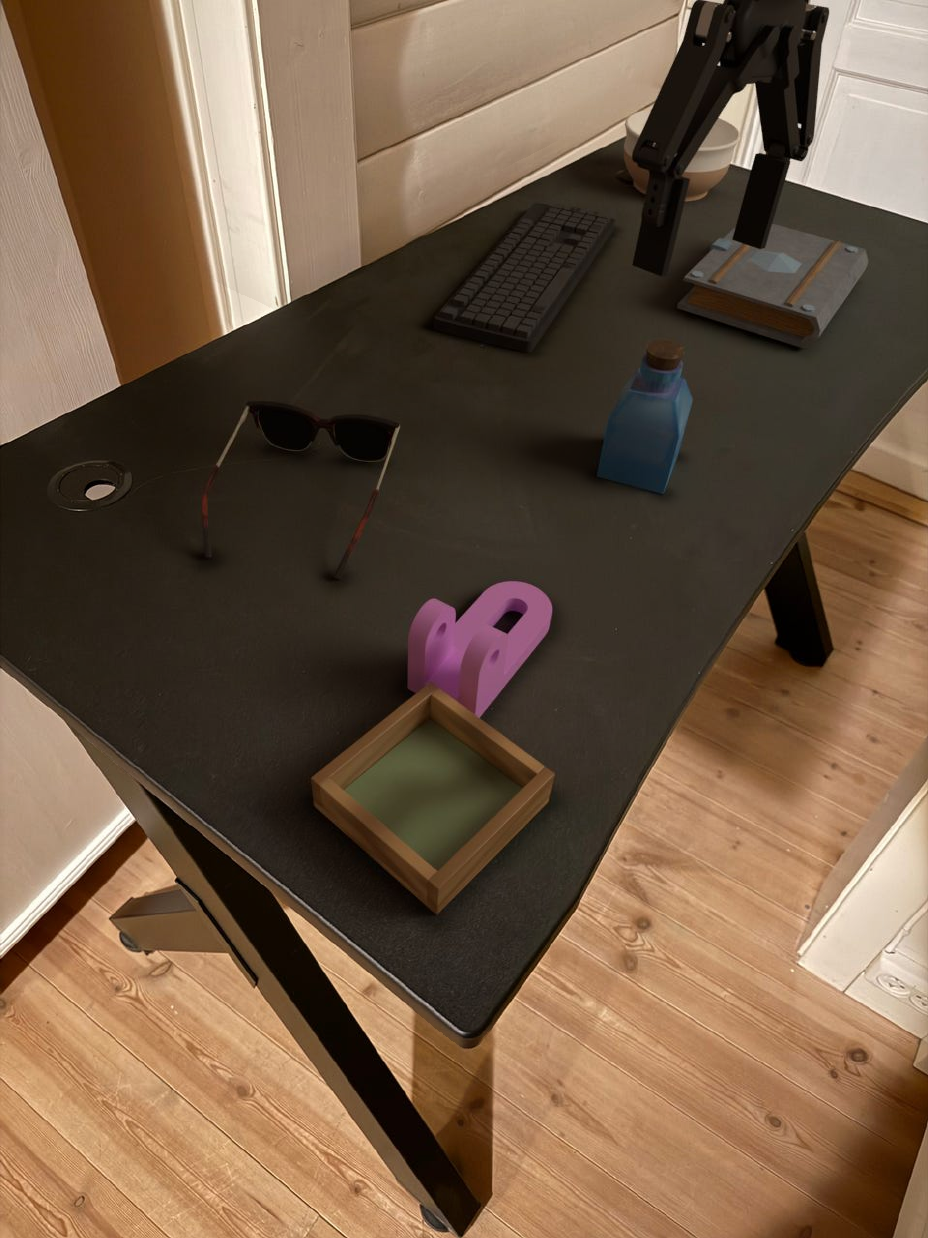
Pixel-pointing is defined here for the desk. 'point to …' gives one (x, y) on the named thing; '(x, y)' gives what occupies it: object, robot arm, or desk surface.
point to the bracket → (476, 643)
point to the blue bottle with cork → (648, 421)
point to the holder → (432, 794)
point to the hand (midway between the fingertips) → (701, 256)
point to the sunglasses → (300, 428)
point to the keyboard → (526, 277)
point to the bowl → (703, 166)
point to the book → (775, 284)
